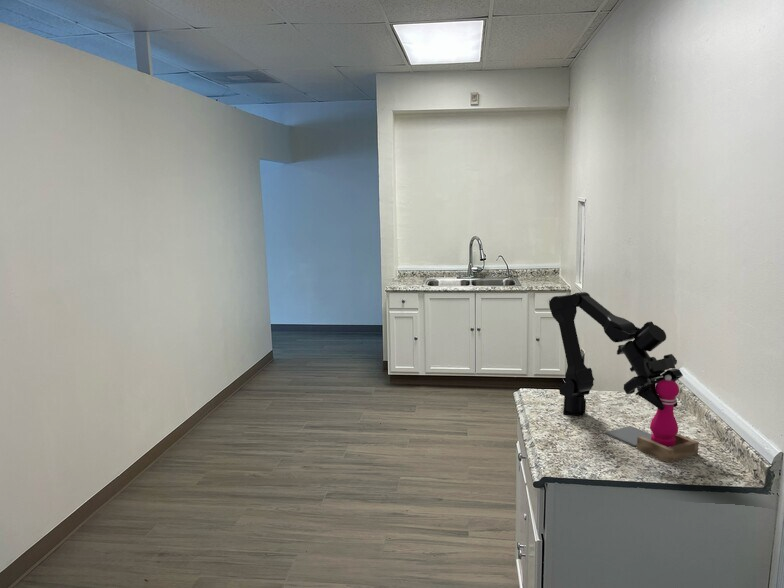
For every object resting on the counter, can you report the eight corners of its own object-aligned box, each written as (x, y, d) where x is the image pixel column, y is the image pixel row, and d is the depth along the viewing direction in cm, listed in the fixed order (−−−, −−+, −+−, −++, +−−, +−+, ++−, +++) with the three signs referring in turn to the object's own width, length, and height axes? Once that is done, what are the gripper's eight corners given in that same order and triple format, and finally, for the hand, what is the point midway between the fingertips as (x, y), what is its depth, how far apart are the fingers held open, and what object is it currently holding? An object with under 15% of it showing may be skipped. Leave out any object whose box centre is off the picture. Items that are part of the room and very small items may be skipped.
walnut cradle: (636, 448, 171) (637, 437, 171) (664, 440, 177) (665, 429, 176) (669, 462, 162) (670, 450, 162) (697, 454, 168) (698, 442, 167)
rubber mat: (604, 434, 182) (605, 432, 182) (630, 427, 187) (630, 425, 187) (635, 447, 172) (635, 445, 172) (660, 439, 178) (661, 438, 177)
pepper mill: (675, 439, 173) (681, 372, 169) (678, 449, 166) (684, 380, 163) (648, 436, 175) (653, 369, 172) (649, 446, 169) (654, 377, 165)
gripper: (635, 349, 165) (667, 400, 157) (679, 341, 174) (712, 389, 166) (610, 369, 173) (639, 418, 166) (654, 361, 182) (683, 407, 174)
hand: (669, 408), depth 168 cm, fingers closed on pepper mill, 5 cm apart
